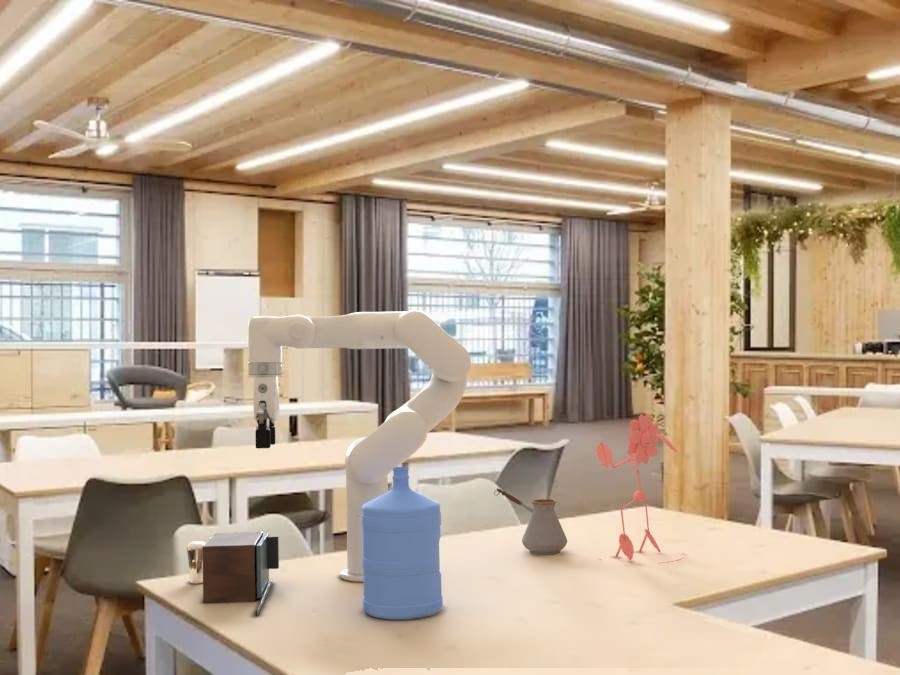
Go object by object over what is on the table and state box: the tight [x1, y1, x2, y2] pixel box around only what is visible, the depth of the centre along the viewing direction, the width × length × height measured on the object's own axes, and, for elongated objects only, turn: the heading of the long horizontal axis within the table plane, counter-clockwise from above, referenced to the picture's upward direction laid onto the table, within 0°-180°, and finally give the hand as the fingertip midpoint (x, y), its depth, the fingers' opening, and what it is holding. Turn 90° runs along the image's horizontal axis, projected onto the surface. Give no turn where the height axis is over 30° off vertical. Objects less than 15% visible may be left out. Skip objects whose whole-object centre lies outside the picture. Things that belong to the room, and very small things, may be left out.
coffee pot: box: [493, 487, 568, 555], centre depth 254 cm, size 21×12×15 cm, turn 49°
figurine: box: [595, 413, 687, 565], centre depth 240 cm, size 15×26×35 cm, turn 131°
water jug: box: [362, 466, 444, 621], centre depth 195 cm, size 16×16×28 cm
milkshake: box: [186, 537, 211, 585], centre depth 223 cm, size 5×5×10 cm
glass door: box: [256, 532, 280, 599], centre depth 212 cm, size 3×16×11 cm, turn 4°
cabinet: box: [202, 531, 273, 617], centre depth 206 cm, size 12×28×12 cm, turn 4°
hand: (265, 446), depth 224 cm, fingers open, 9 cm apart
